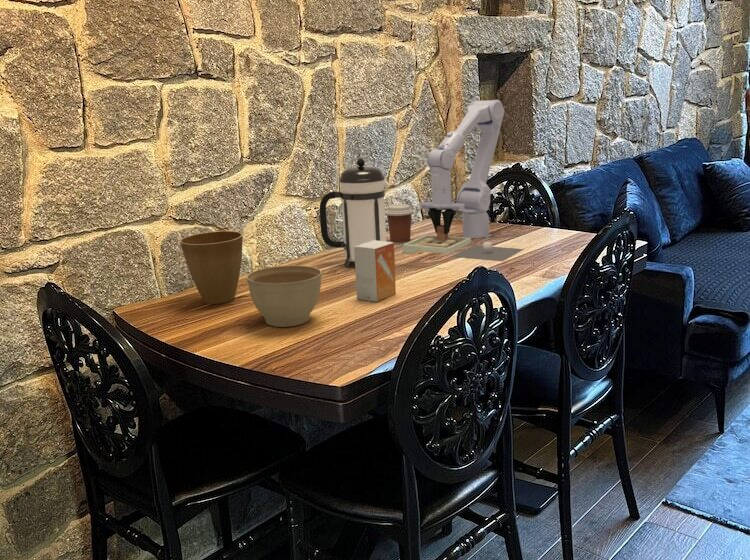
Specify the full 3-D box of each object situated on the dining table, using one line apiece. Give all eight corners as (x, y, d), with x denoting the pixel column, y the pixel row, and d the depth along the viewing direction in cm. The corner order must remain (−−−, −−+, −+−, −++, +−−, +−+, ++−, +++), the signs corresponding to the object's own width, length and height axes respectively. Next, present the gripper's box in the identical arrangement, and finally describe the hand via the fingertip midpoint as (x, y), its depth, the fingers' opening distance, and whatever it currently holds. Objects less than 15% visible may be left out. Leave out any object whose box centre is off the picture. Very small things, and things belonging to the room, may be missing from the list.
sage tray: (426, 242, 231) (426, 234, 230) (471, 246, 222) (471, 238, 222) (402, 252, 218) (402, 244, 217) (448, 256, 210) (448, 248, 209)
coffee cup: (380, 243, 232) (378, 207, 229) (398, 238, 239) (396, 202, 236) (402, 246, 227) (401, 209, 223) (420, 241, 233) (418, 204, 230)
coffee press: (371, 254, 218) (366, 154, 210) (402, 263, 205) (397, 157, 197) (322, 264, 209) (314, 160, 201) (350, 274, 196) (343, 163, 188)
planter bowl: (314, 333, 149) (310, 283, 147) (240, 332, 152) (235, 283, 149) (332, 310, 165) (329, 264, 162) (265, 310, 168) (260, 264, 165)
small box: (377, 302, 169) (374, 248, 165) (356, 299, 172) (353, 246, 169) (396, 294, 175) (394, 241, 172) (375, 290, 179) (373, 239, 175)
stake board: (473, 248, 219) (473, 235, 218) (524, 252, 211) (524, 239, 210) (450, 259, 206) (450, 246, 205) (502, 264, 198) (502, 250, 197)
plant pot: (214, 289, 187) (207, 229, 183) (260, 294, 180) (254, 232, 176) (174, 305, 175) (166, 241, 170) (222, 311, 168) (215, 245, 164)
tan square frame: (430, 239, 227) (429, 223, 225) (459, 241, 221) (458, 225, 220) (415, 247, 219) (414, 231, 217) (444, 250, 213) (443, 233, 212)
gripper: (414, 190, 219) (415, 233, 223) (457, 191, 212) (458, 236, 215) (425, 187, 225) (426, 229, 228) (467, 188, 217) (468, 232, 221)
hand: (442, 232), depth 222 cm, fingers closed on tan square frame, 2 cm apart
